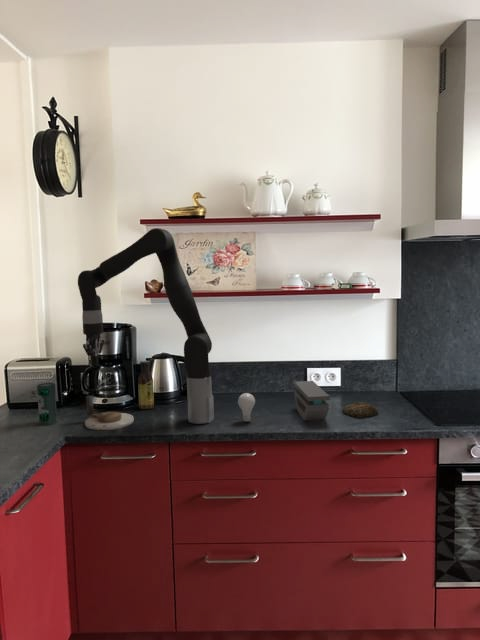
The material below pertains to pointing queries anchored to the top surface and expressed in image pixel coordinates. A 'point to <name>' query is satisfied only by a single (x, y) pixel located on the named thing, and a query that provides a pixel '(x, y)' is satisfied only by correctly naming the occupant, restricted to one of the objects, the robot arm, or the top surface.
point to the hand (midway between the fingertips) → (95, 365)
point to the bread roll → (360, 410)
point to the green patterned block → (47, 403)
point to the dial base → (109, 423)
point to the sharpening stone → (311, 401)
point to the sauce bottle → (145, 386)
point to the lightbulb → (246, 405)
